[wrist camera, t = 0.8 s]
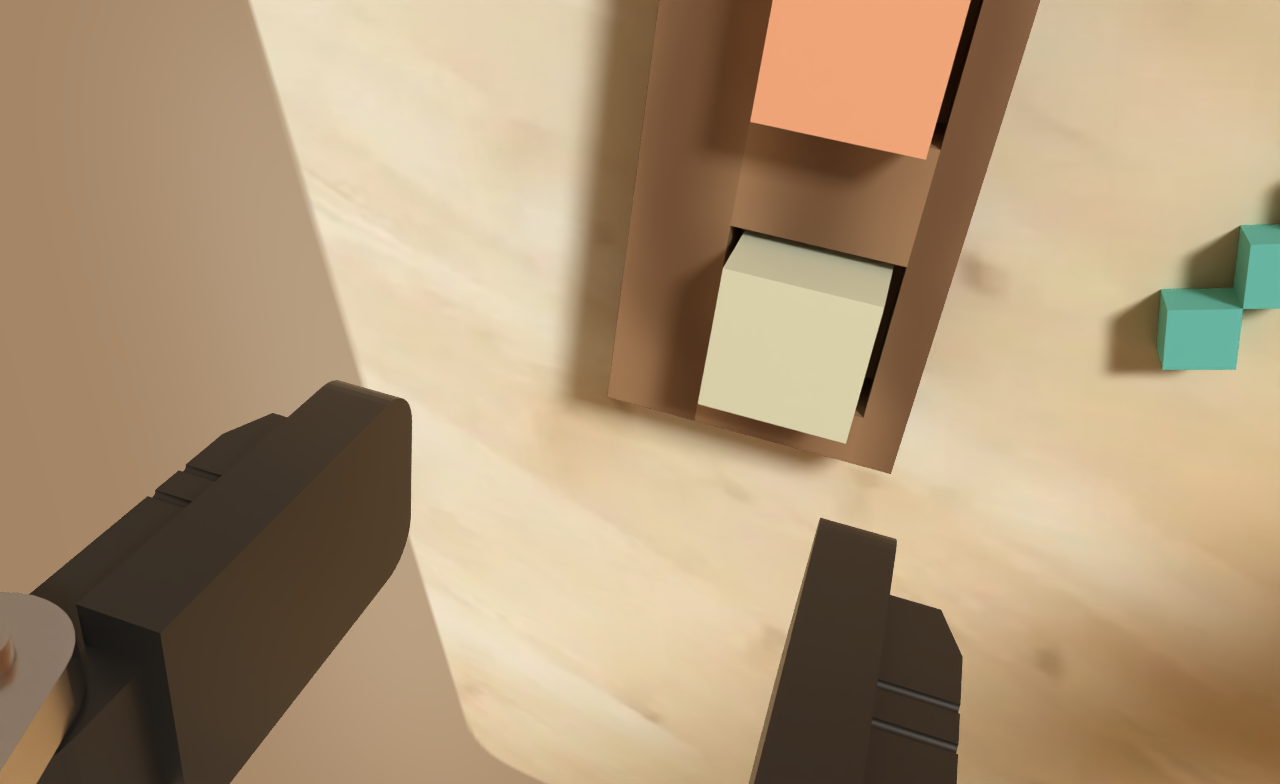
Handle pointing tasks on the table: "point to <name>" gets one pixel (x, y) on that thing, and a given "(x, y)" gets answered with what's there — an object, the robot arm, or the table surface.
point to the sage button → (793, 334)
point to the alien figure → (1220, 307)
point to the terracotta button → (859, 70)
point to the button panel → (795, 211)
